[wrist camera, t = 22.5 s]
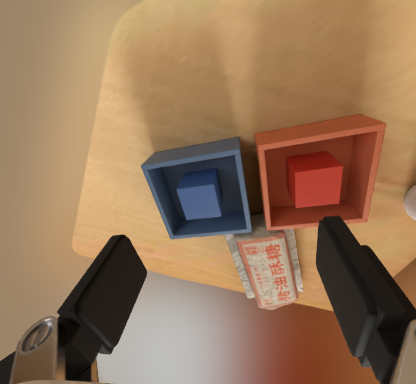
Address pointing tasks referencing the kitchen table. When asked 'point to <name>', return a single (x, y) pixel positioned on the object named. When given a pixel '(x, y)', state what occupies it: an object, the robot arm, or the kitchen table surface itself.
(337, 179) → the red block
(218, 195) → the blue block
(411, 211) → the energy drink can
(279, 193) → the terracotta bin
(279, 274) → the packaged product
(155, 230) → the kitchen table surface
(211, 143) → the blue bin
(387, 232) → the kitchen table surface
